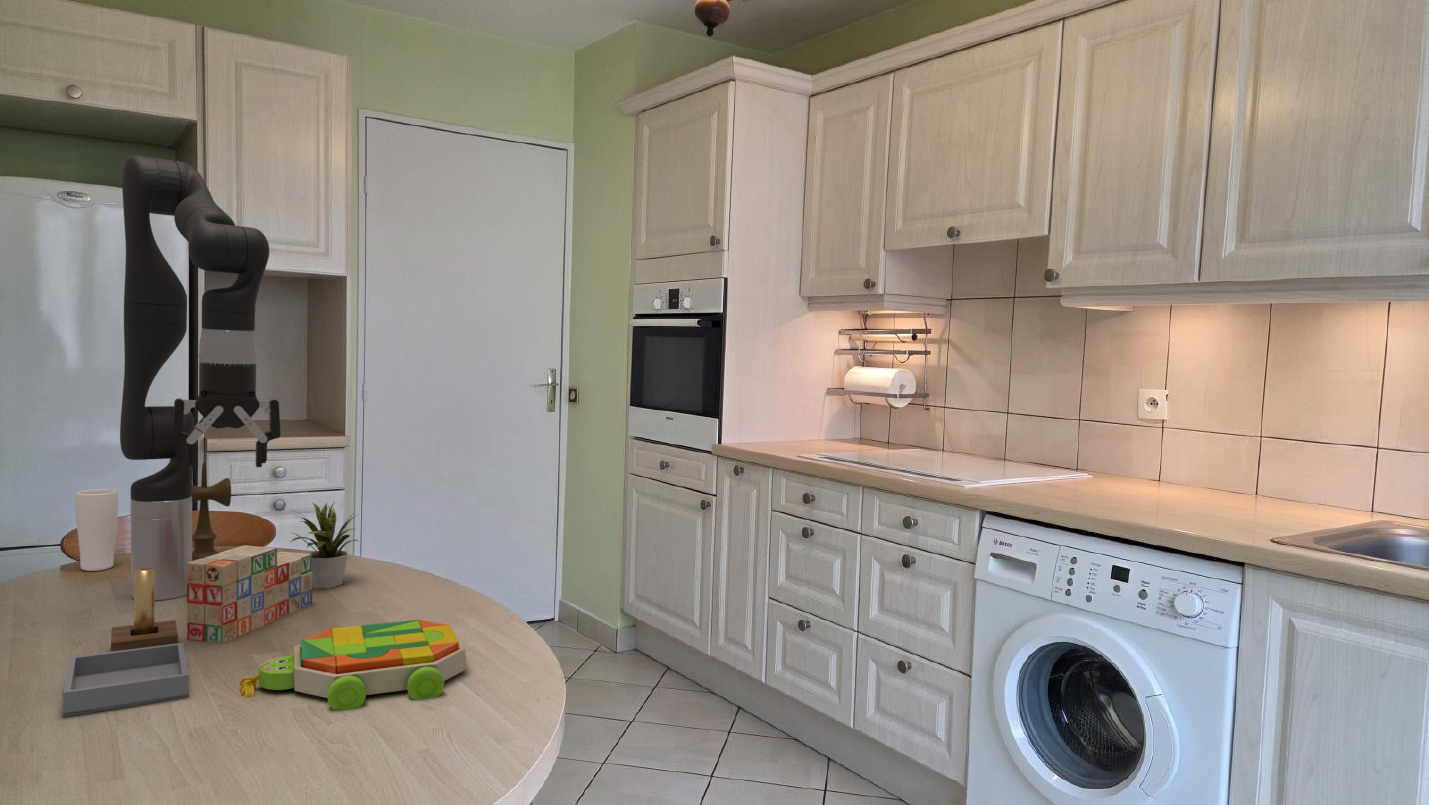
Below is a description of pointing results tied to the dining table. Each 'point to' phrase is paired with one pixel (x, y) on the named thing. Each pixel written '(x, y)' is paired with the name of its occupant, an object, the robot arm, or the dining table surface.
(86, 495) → the drinking glass
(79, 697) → the pin tray
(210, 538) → the kendama
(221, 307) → the robot arm
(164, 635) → the pin base
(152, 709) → the dining table surface
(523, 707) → the dining table surface
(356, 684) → the wooden turtle toy
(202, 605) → the stack of blocks
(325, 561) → the house plant
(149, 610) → the pin
